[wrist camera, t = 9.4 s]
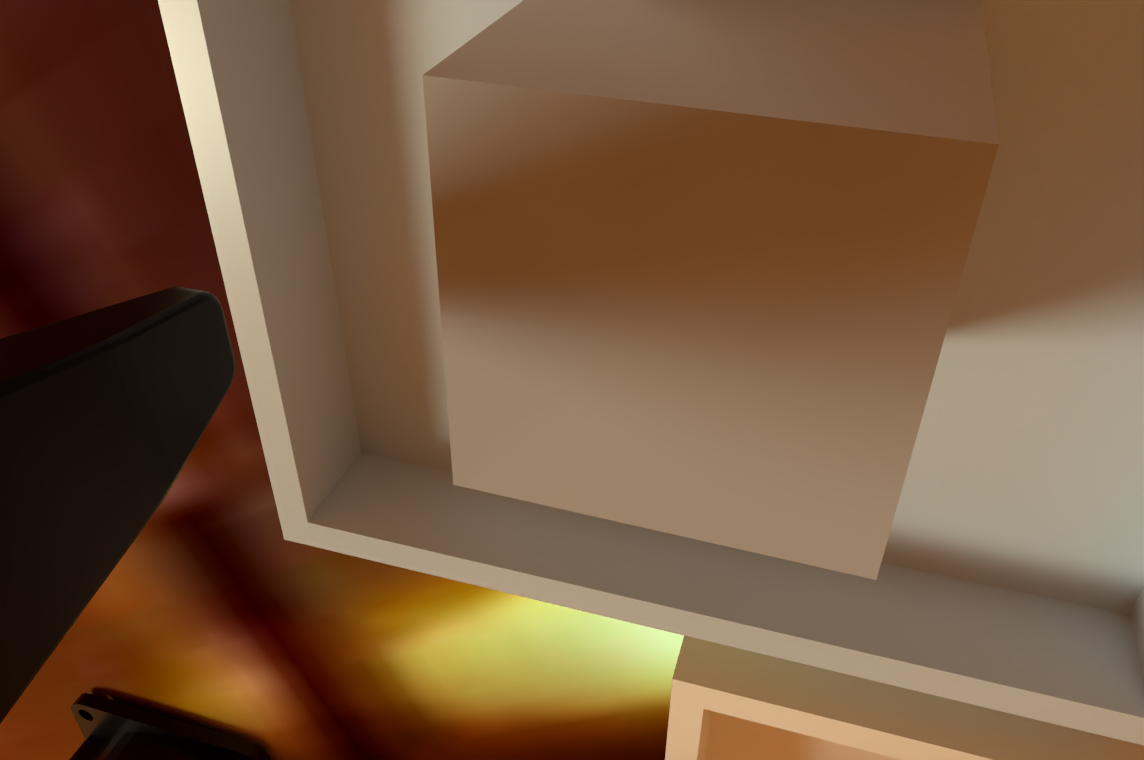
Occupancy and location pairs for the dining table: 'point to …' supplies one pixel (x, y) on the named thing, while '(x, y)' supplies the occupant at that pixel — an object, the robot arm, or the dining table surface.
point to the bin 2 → (845, 717)
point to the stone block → (706, 257)
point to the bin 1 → (662, 560)
